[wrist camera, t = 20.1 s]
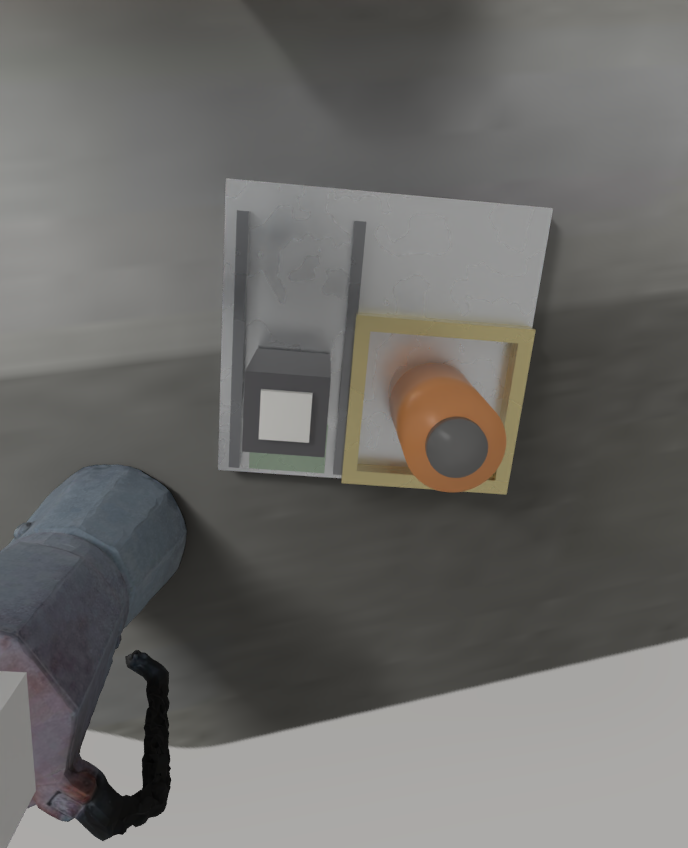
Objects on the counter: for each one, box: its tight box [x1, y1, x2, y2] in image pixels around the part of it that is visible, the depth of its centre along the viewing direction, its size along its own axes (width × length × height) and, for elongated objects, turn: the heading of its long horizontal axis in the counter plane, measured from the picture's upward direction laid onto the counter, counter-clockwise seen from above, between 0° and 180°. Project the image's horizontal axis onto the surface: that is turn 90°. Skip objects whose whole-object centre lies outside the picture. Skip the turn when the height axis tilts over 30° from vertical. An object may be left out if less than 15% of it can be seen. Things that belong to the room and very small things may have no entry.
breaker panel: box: [218, 178, 553, 495], centre depth 35 cm, size 16×17×3 cm
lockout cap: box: [390, 363, 506, 492], centre depth 33 cm, size 5×5×8 cm
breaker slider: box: [242, 348, 331, 457], centre depth 33 cm, size 4×4×6 cm
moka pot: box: [0, 465, 187, 841], centre depth 30 cm, size 10×15×20 cm, turn 56°
